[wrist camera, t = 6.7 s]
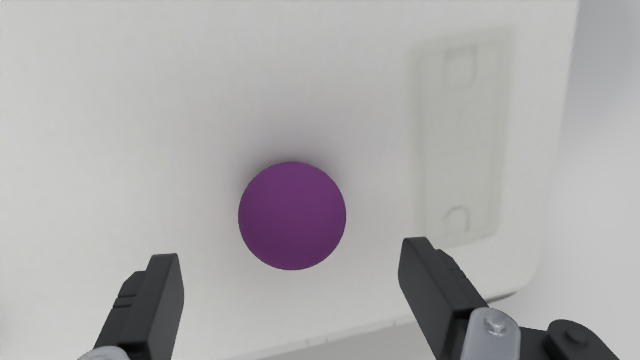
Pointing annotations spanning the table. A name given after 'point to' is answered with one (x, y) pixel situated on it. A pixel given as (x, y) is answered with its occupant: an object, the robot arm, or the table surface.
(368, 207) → the table surface
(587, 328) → the robot arm
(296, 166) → the plum ball
